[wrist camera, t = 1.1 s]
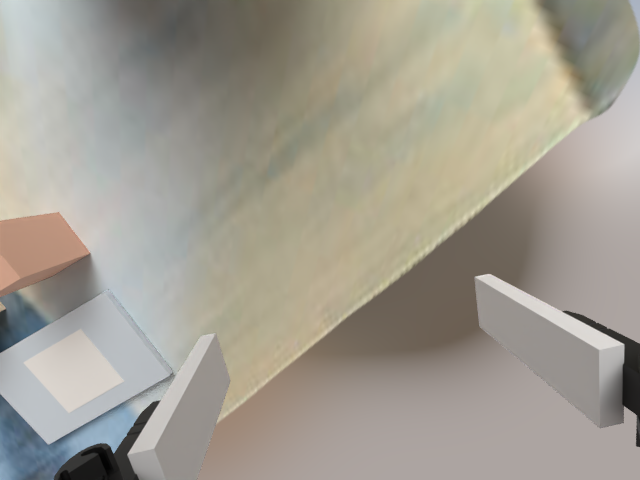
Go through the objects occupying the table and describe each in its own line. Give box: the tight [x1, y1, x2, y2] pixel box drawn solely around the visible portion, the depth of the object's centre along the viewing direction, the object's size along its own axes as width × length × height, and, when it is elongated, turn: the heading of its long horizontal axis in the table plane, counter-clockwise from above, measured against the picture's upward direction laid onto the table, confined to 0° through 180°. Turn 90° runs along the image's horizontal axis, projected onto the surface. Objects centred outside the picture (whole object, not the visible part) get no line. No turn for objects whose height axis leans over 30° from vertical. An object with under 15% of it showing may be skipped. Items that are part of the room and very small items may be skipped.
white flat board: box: [0, 289, 173, 445], centre depth 42 cm, size 14×20×1 cm
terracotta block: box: [0, 212, 90, 297], centre depth 34 cm, size 6×6×10 cm
